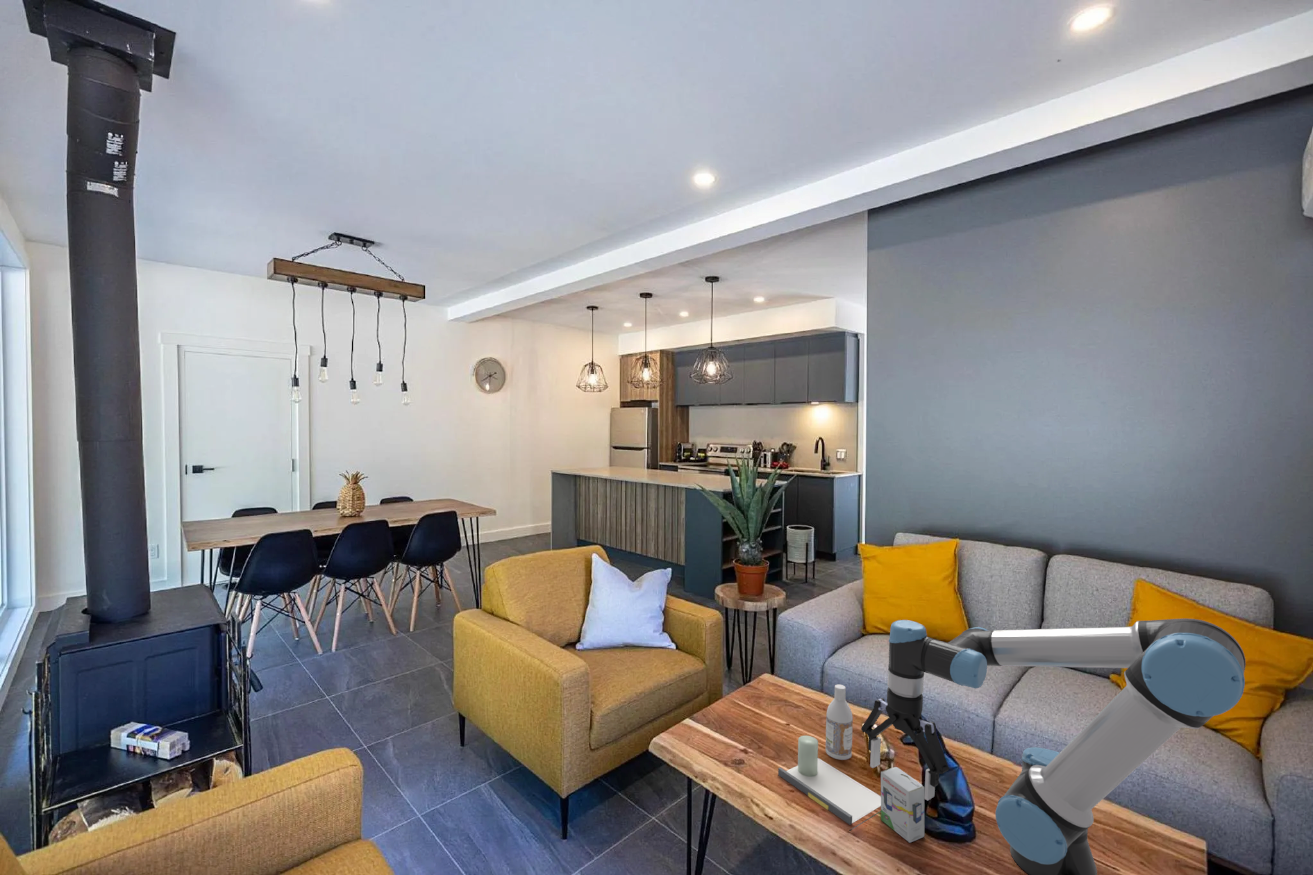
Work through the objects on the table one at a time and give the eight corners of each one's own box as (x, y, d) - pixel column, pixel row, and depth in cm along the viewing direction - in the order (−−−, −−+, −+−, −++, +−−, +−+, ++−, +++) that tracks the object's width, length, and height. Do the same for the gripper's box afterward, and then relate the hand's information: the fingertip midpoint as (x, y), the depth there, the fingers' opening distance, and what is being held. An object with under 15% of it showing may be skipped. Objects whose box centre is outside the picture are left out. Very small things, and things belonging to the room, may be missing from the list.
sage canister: (821, 772, 150) (822, 742, 149) (808, 778, 147) (809, 748, 147) (806, 762, 154) (807, 733, 154) (793, 768, 151) (794, 739, 151)
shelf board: (888, 807, 139) (888, 794, 139) (849, 831, 130) (849, 817, 130) (815, 761, 157) (816, 750, 157) (777, 780, 148) (777, 768, 148)
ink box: (925, 837, 129) (926, 785, 128) (908, 844, 127) (910, 791, 126) (894, 813, 136) (896, 764, 136) (878, 819, 134) (879, 770, 134)
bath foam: (840, 767, 154) (842, 694, 154) (820, 755, 160) (821, 684, 160) (856, 759, 158) (858, 688, 158) (836, 747, 164) (838, 678, 163)
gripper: (968, 709, 123) (964, 806, 123) (867, 666, 143) (864, 748, 144) (950, 719, 118) (945, 819, 119) (848, 673, 139) (845, 758, 140)
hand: (901, 781), depth 132 cm, fingers open, 13 cm apart
